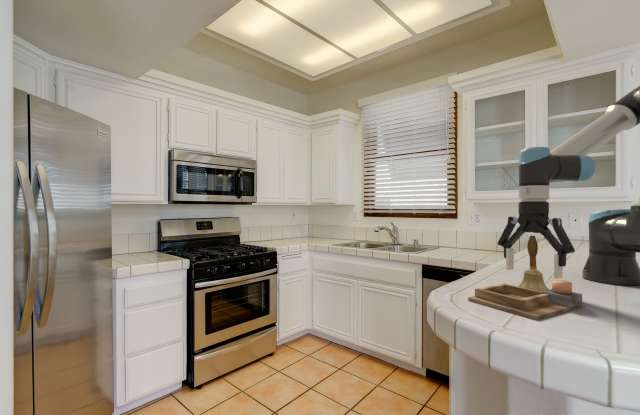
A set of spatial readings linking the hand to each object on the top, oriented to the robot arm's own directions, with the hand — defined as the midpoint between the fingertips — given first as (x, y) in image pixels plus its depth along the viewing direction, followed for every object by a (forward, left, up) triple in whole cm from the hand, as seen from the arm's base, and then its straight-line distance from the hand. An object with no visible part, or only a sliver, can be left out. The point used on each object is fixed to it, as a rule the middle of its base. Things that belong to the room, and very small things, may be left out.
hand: (532, 273), depth 97 cm
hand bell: (0, 0, -5) cm, 5 cm away
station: (+16, +7, -5) cm, 18 cm away
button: (+9, +12, -1) cm, 15 cm away
